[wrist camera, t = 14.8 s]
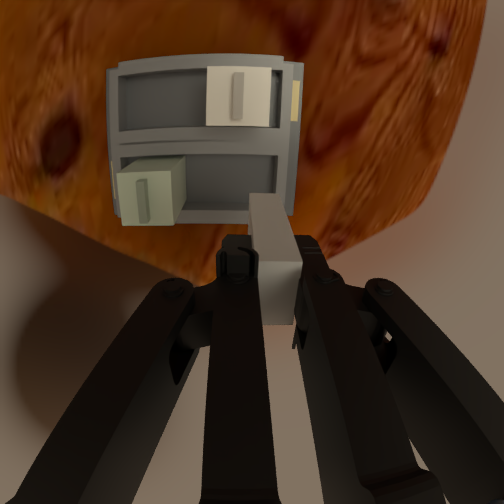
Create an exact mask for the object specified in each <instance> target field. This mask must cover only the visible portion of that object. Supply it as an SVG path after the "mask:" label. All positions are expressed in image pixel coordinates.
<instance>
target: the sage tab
mask: <svg viewBox="0 0 504 504" xmlns="http://www.w3.org/2000/svg"><path fill="white" fill-rule="evenodd" d="M116 175H117V186H118V195H119V204H120V212H121V219H122V226H174V224H175V222H176V220H177V218H178V216H179V214H180V212H181V209H182V207H183V205H184V203H185V201H186V199H187V196H186V162H185V155H177V156H152V157H141V158H139V159H137V160H136V161H134V162H133V163H131V164H130V165H128V166H127V167H125V168H124V169H122V170H120V171H119V172H118V173H116Z"/></svg>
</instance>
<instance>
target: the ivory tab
mask: <svg viewBox="0 0 504 504" xmlns="http://www.w3.org/2000/svg"><path fill="white" fill-rule="evenodd" d="M271 70H272V68H269V67H249V66H207V95H206V126H260V127H269V112H270V92H271Z"/></svg>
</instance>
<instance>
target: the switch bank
mask: <svg viewBox="0 0 504 504" xmlns="http://www.w3.org/2000/svg"><path fill="white" fill-rule="evenodd" d="M283 59H284V56H275V55H259V54H191V55H176V56H164V57H154V58H145V59H138V60H131V61H124V62H119V65H118V67H116V68H110V69H106V117H107V140H108V156H109V168H110V179H111V188H112V197H113V205H114V213H115V215H118V217H121V212H120V204H119V195H118V186H117V175H116V173H118V172H119V171H120V170H122V169H124V168H125V167H127V166H128V165H130V164H131V163H133V162H134V161H136V160H137V159H139V158H141V157H152V156H177V155H185V162H186V196H187V199H186V201H185V203H184V205H183V207H182V209H181V212H180V214H179V216H178V218H177V220H176V222H175V223H210V224H248V217H249V193H273V194H279V195H280V198H281V201H282V204H283V206H284V209H285V212H286V215H289V216H293V208H294V197H295V186H296V175H297V162H298V150H299V136H300V122H301V106H302V89H303V69H304V63H298V62H288V61H283ZM207 66H249V67H269V68H272V70H271V92H270V112H269V127H260V126H206V95H207Z"/></svg>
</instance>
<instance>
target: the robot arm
mask: <svg viewBox="0 0 504 504" xmlns="http://www.w3.org/2000/svg"><path fill="white" fill-rule="evenodd" d="M216 275H217V278H216V279H215V280H214V281H213V282H211V283H209V284H207V285H204V286H200V287H195V288H194V287H193V285H192V283H190V282H189V281H188V280H185V279H182V278H169V279H165V280H162V281H160V282H158V283H157V284H156V285H155V286H154V287H153V288H152V289H151V291H150V292H149V293H148V295H147V296H146V297H145V299H144V300H143V301H142V302H141V304H140V305H139V307H138V308H137V309H136V310H135V312H134V313H133V314H132V316H131V317H130V319H129V320H128V321H127V323H126V324H125V325H124V327H123V328H122V329H121V331H120V332H119V334H118V335H117V336H116V338H115V339H114V341H113V342H112V343H111V345H110V346H109V347H108V349H107V350H106V352H105V353H104V354H103V356H102V357H101V359H100V360H99V362H98V363H97V364H96V366H95V367H94V369H93V370H92V372H91V373H90V375H89V376H88V378H87V379H86V380H85V382H84V383H83V385H82V386H81V388H80V389H79V391H78V392H77V394H76V395H75V397H74V398H73V400H72V401H71V403H70V404H69V406H68V407H67V409H66V411H65V412H64V414H63V415H62V417H61V418H60V420H59V422H58V423H57V425H56V426H55V428H54V429H53V431H52V433H51V434H50V436H49V438H48V439H47V441H46V442H45V444H44V446H43V447H42V449H41V451H40V452H39V454H38V456H37V457H36V459H35V461H34V463H33V464H32V466H31V468H30V469H29V471H28V473H27V475H26V476H25V478H24V480H23V482H22V484H21V486H20V487H19V489H18V491H17V493H16V495H15V496H14V497H13V498H12V499H10V500H9V501H8V502H7V503H5V504H132V502H133V500H134V497H135V495H136V493H137V490H138V488H139V486H140V483H141V481H142V479H143V477H144V474H145V472H146V470H147V467H148V465H149V463H150V461H151V458H152V456H153V454H154V452H155V449H156V447H157V445H158V443H159V440H160V438H161V436H162V434H163V431H164V429H165V427H166V425H167V422H168V420H169V418H170V416H171V413H172V411H173V409H174V407H175V404H176V402H177V400H178V398H179V395H180V393H181V391H182V388H183V386H184V384H185V382H186V380H187V378H188V375H189V373H190V371H191V369H192V366H193V364H194V362H195V360H196V357H197V355H198V353H199V349H200V348H201V347H205V346H210V354H209V355H210V356H209V367H208V380H207V394H206V410H205V426H204V444H203V465H202V489H201V499H200V502H199V504H281V501H280V499H279V496H278V490H277V489H278V488H277V478H276V467H275V456H274V446H273V434H272V423H271V412H270V402H269V390H268V380H267V369H266V358H265V348H264V337H263V327H262V325H292V324H293V319H294V314H295V319H296V328H295V333H294V338H293V344H292V349H295V346H296V344H297V349H298V355H299V360H300V365H301V370H302V375H303V381H304V387H305V392H306V397H307V403H308V409H309V414H310V420H311V425H312V432H313V438H314V443H315V450H316V455H317V462H318V467H319V474H320V480H321V486H322V493H323V499H324V504H446V501H445V498H444V495H445V497H446V498H447V500H448V501H449V503H450V504H504V402H503V401H502V400H501V399H500V397H499V396H498V395H497V394H496V392H495V391H494V390H493V389H492V388H491V386H490V385H489V384H488V383H487V382H486V380H485V379H484V378H483V377H482V375H480V373H479V372H478V371H477V370H476V369H475V368H474V366H473V365H472V364H471V363H470V362H469V360H468V359H467V358H466V357H465V356H464V355H463V354H462V353H461V351H459V349H458V348H457V347H456V346H455V345H454V344H453V342H451V340H450V339H449V338H448V337H447V336H446V335H445V334H444V333H443V332H442V331H441V329H440V328H439V327H438V326H437V325H436V324H435V323H434V322H433V321H432V320H431V319H430V318H429V317H428V316H427V315H426V314H425V313H424V312H423V311H422V310H421V309H420V307H418V305H416V303H415V302H414V301H413V300H412V299H410V297H409V296H408V295H406V294H405V292H403V291H402V289H401V288H400V287H398V286H397V285H396V284H395V283H393V282H391V281H389V280H387V279H383V278H373V279H370V280H368V282H367V283H366V285H365V288H360V287H355V286H351V285H347V284H345V282H344V280H343V278H342V277H341V275H340V274H339V273H337V272H336V271H334V270H332V269H330V268H329V266H328V264H327V262H326V260H325V257H324V255H323V254H322V251H321V249H320V247H319V244H318V242H317V241H316V240H315V239H314V238H312V237H311V236H310V235H293V232H292V229H291V226H290V223H289V220H288V218H287V215H286V212H285V209H284V206H283V204H282V201H281V198H280V195H279V194H273V193H249V217H248V235H227V236H226V237H225V238H224V239H223V240H222V248H221V249H220V250H219V251H218V252H217V254H216ZM387 331H388V333H389V334H390V335H391V336H392V339H391V341H389V340H388V339H387V338H386V337H385V335H386V333H387ZM408 437H409V438H408ZM409 439H410V440H411V442H412V444H413V445H414V447H415V448H416V450H417V451H418V453H419V455H420V456H421V458H422V459H423V461H424V463H425V464H426V466H427V467H428V469H429V471H427V470H424V469H421V468H420V467H419V466H418V464H417V462H416V459H415V456H414V453H413V450H412V447H411V444H410V441H409ZM443 493H444V494H443Z"/></svg>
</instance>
